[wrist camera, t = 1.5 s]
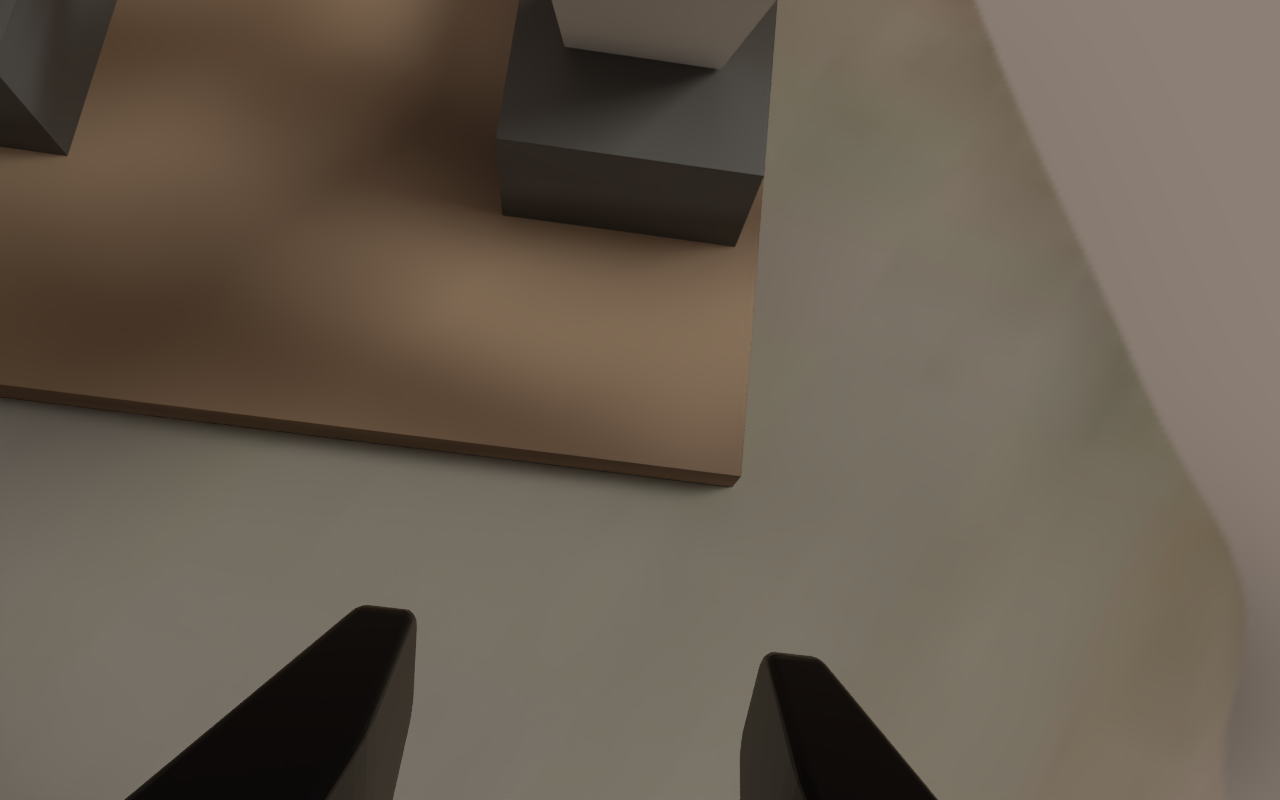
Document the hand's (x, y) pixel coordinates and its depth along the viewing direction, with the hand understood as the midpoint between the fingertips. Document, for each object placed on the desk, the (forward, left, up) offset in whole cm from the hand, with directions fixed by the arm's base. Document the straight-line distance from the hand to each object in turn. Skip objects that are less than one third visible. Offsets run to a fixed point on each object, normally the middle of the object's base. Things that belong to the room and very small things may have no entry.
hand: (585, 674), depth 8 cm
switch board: (+12, +7, -13) cm, 18 cm away
